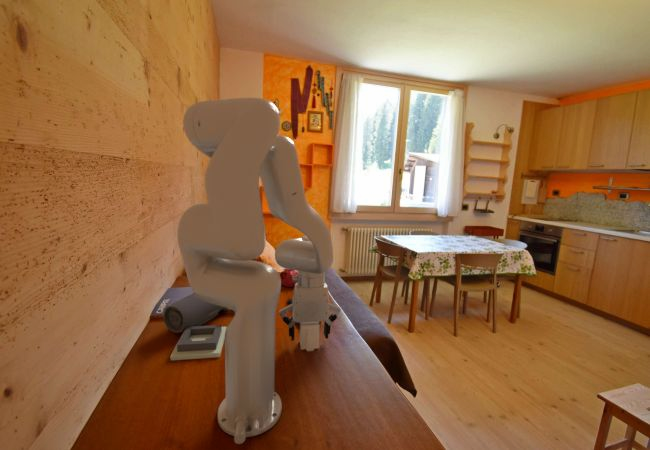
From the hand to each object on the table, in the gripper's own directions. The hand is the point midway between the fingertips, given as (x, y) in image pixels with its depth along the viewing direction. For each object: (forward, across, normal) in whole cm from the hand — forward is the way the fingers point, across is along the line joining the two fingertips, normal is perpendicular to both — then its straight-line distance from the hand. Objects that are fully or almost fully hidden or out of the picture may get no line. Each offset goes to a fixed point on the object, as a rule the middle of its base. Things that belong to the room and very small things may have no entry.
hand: (309, 337), depth 86 cm
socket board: (+2, -30, +4) cm, 30 cm away
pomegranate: (+3, -2, +49) cm, 49 cm away
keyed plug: (+2, 0, 0) cm, 2 cm away
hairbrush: (+3, 0, +20) cm, 20 cm away
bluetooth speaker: (+2, -32, +18) cm, 36 cm away
